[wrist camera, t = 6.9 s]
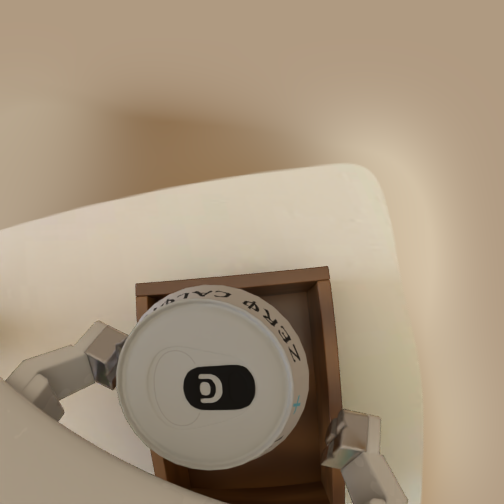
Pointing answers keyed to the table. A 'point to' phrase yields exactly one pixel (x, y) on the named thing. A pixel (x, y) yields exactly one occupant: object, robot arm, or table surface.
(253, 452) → the energy drink can
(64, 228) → the table surface
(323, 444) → the wooden tray
